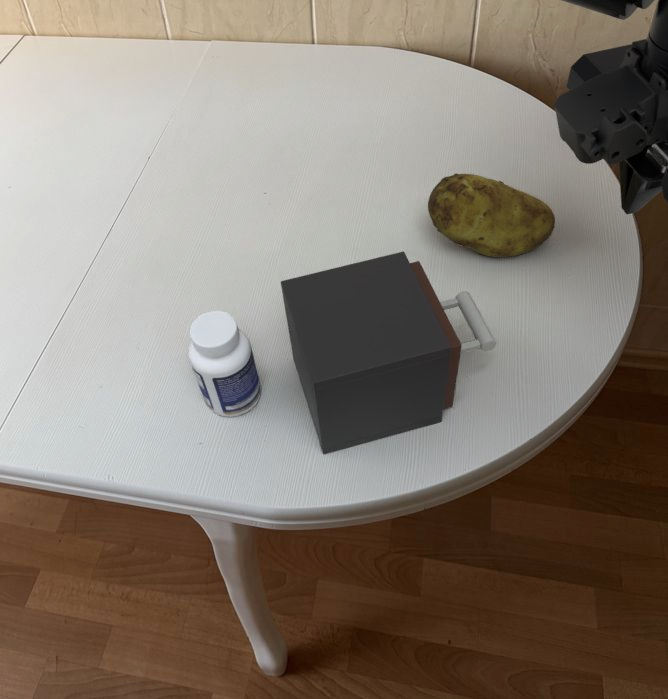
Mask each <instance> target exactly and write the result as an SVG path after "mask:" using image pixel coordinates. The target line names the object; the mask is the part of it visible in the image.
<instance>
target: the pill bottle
mask: <svg viewBox="0 0 668 699" xmlns="http://www.w3.org/2000/svg"><path fill="white" fill-rule="evenodd" d="M189 337H190V340H191V342H190V344H189V347H188V360H189V363H190V366H191V368H192V372H193V374H194V376H195V379H196V382H197V385H198V387H199V390H200V392H201V395H202V398H203V401H204V402H205V405H206V406H207V408H208V409H209V410H210V411H211V412H212V413H214V414H216V415H217V416H222V417H226V418H227V417H230V418H231V417H238V416H242V415H244V414H246V413H248V412H250V411H251V410H252V409H253V408H254V407H255V406H256V405H257V403H258V402H259V400H260V397H261V394H262V385H261V380H260V376H259V373H258V368H257V364H256V361H255V358H254V357H255V356H254V353H253V349H252V345H251V341H250V338H249V337H248V335H247V334H246V333H245V332H244V330H242V329H241V328H239V326H238V323H237V320H236V319H235V317H234V316H233V315H232V314H230V313H228V312H226V311H223V310H211V311H207V312H204V313H202V314H200V315H199V316H197V317H196V318H195V319H194V320H193V321H192V323H191V325H190V328H189Z"/></svg>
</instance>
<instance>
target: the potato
mask: <svg viewBox="0 0 668 699" xmlns="http://www.w3.org/2000/svg"><path fill="white" fill-rule="evenodd" d="M427 211H428V215H429V217H430V220H431V222H432V224H433V226H434V227H435V229H437V232H439V233H441V235H443V236H444V237H445V238H447V239H448V240H449V241H450V242H453V243H454V244H456V245H458V246H461V247H464V248H470V249H471V250H473V251H475V252H477V253H479V254H481V255H483V256H487V257H494V258H506V257H508V258H509V257H516V256H519V255H524V254H526V253H529V252H530V251H533V250H534V249H536V248H538V247H539V246H541V245H542V244H544V243H545V242H547V241H548V240H549V238H550V237H551V236H552V234H553V231H554V229H555V226H556V217H555V214H554V212H553V209H552V208H551V207H550V206H549V205H548V204H547V203H546V202H544V200H541V199H539V198H537V197H535V196H534V195H531V194H529V193H527V192H525V191H523V190H520V189H517V188H514V187H512V186H510V185H509V184H506V183H505V182H504V181H501V180H496V179H493V178H488V177H485V176H482V175H478V174H474V173H473V174H472V173H454V174H453V175H449V176H445V177H443V178H441V180H440V181H439V182H438V183H437V184H436V185H435V186H434V188H433V189H432V191H431V192H430V194H429V198H428V201H427Z"/></svg>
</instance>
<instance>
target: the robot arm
mask: <svg viewBox="0 0 668 699" xmlns="http://www.w3.org/2000/svg"><path fill="white" fill-rule="evenodd" d="M561 1H563V2H566V3H569V4H572V5H575V6H578V7H581V8H584V9H587V10H591V11H592V12H593V11H594V12H597V13H600V14H603V15H605V16H609V17H613V18H615V19H619V20H622V21H625V20H627V19H628V18H631V16H632V15H633V14H634V13H635V11H636V10H637V9H642V10H647V9H648V8H649V7H650V6H651V5H652V4H653V3H654V1H655V0H561ZM566 88H567V89H568V90H567V91H566V92H564V93H562V94H560V95H559V96H558V97H557V98H556V99H555V101H554V111H555V115H556V122H557V128H558V131H559V132H558V133H559V138H560V139H561V140H562V141H563V142H564V143H565V144H566V145H567V146H568V148H569V149H570V150H571V151H572V152H573V153H574V156H575V157H576V159H577V160H578V161H579V162H581V163H582V164H587V165H591V164H595V163H597V162H600V161H602V160H605V162H607V164H608V165H613V166H614V165H617V164H618V167H619V168H618V170H619V173H618V174H619V189H620V190H619V191H620V207H621V208H620V209H622V211H623V212H624V213H625V214H626V215H630V214H635V213H637V212H639V211H640V210H641V209H643V208H644V207H645V206H646V205H647V204H648V203H649V202H650V201H652V200H653V199H654V198H655V197H656V196H658V195H659V194H660V193H661V192H662V196H663V199H664V200H665V201H666V202H667V203H668V0H658V1H657V5H656V8H655V12H654V15H653V18H652V21H651V25H650V27H649V30H648V34H647V36H646V38H644V39H639V40H634V41H632V42H631V43H630V44H626V45H621V46H616V47H610V48H607V49H603V50H597V51H592V52H588V53H583V54H582V55H581V56H580V57H579V58H578V59H577V60H576V61H575V62H574V63H573V64H572V65H571V66H570V69H569V74H568V78H567V83H566Z"/></svg>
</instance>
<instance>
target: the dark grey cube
mask: <svg viewBox="0 0 668 699" xmlns="http://www.w3.org/2000/svg"><path fill="white" fill-rule="evenodd" d="M410 263H411V262H410V260H409V258H408V257H407V254H406V253H405V251H400V252H395V253H392V254H387V255H382V256H379V257H374V258H371V259H367V260H362V261H359V262H358V261H357V262H354V263H350V264H346V265H341V266H338V267H334V268H330V269H326V270H321V271H318V272H313V273H309V274H303V275H301V276H297V277H292V278H288V279H284V280H281V281H280V285H281V286H280V287H281V292H282V299H283V305H284V306H283V307H284V311H285V317H286V323H287V329H288V334H289V341H290V346H291V353H292V358H293V363H294V366H295V368H296V372H297V375H298V378H299V381H300V384H301V388H302V391H303V394H304V397H305V400H306V404H307V407H308V410H309V413H310V416H311V420H312V423H313V427H314V430H315V432H316V436H317V439H318V443H319V446H320V449H321V452H322V454H323V455H327V454H330V453H334V452H339V451H341V450H345V449H349V448H352V447H356V446H359V445H363V444H367V443H370V442H374V441H377V440H381V439H384V438H389V437H392V436H395V435H399V434H403V433H406V432H410V431H413V430H417V429H421V428H424V427H428V426H431V425H436V424H438V423H441V422H442V421H443V415H444V414H443V413H444V409H443V406H444V399H445V391H446V383H447V375H448V367H449V359H450V351H451V346H450V344H449V342H448V340H447V338H446V336H445V334H444V332H443V330H442V327H441V325H440V323H439V321H438V319H437V317H436V315H435V313H434V311H433V309H432V307H431V305H430V303H429V301H428V299H427V297H426V295H425V293H424V291H423V289H422V287H421V285H420V283H419V281H418V279H417V277H416V275H415V273H414V271H413V269H412V267H411V265H410Z"/></svg>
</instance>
